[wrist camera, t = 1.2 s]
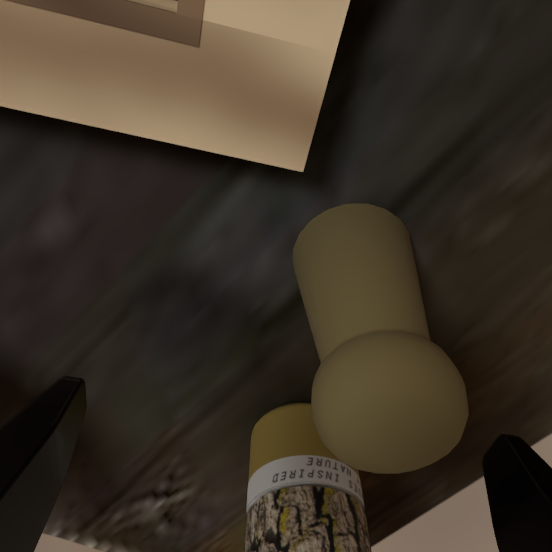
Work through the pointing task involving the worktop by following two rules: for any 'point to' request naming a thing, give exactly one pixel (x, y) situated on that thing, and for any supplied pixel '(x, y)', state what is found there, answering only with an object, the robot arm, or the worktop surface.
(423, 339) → the cork
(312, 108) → the socket board
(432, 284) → the worktop surface
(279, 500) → the grey bark cylinder
